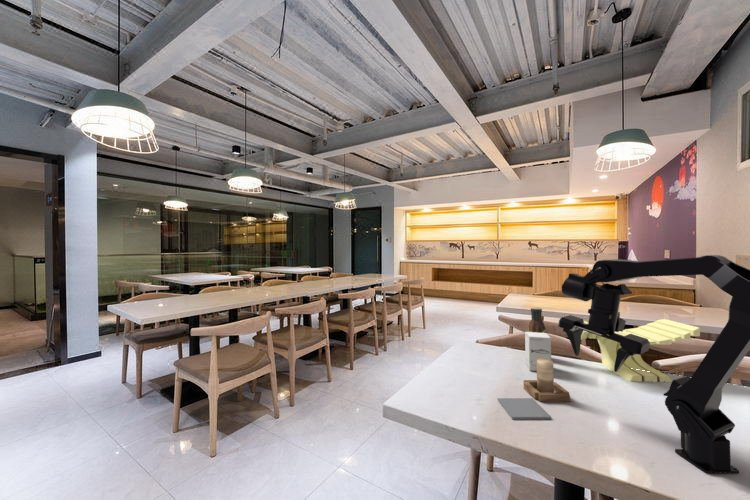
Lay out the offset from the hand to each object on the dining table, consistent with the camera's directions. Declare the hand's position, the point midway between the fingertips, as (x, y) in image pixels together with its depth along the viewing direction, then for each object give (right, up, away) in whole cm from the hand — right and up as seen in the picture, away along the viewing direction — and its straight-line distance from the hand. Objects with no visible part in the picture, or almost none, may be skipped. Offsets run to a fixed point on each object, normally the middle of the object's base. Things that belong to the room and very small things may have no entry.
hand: (595, 363), depth 80 cm
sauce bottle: (+8, -14, +43) cm, 46 cm away
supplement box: (+1, -14, +31) cm, 34 cm away
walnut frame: (-7, -14, +11) cm, 19 cm away
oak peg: (-7, -14, +11) cm, 19 cm away
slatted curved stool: (+32, -13, +26) cm, 44 cm away
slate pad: (-18, -14, +2) cm, 23 cm away
